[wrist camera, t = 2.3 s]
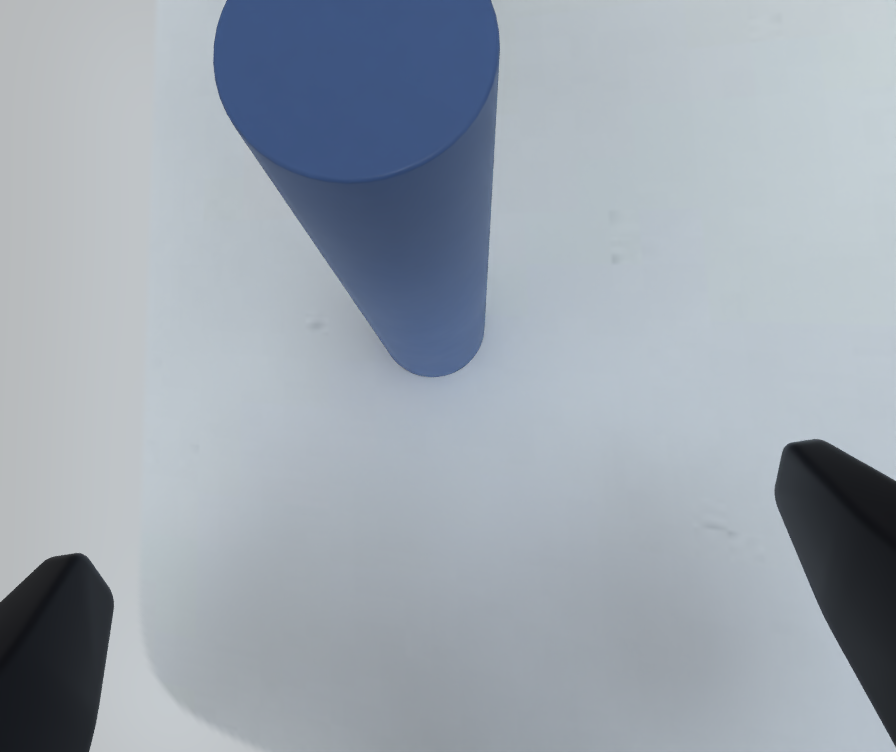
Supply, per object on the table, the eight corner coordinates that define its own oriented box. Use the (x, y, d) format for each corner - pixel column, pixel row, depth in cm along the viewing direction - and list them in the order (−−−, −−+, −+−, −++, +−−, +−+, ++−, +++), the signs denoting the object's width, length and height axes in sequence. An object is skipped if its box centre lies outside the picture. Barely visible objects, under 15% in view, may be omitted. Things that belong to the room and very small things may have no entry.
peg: (430, 398, 21) (341, 241, 7) (361, 324, 21) (153, 43, 8) (505, 328, 21) (561, 47, 7) (436, 257, 22) (366, -135, 8)
